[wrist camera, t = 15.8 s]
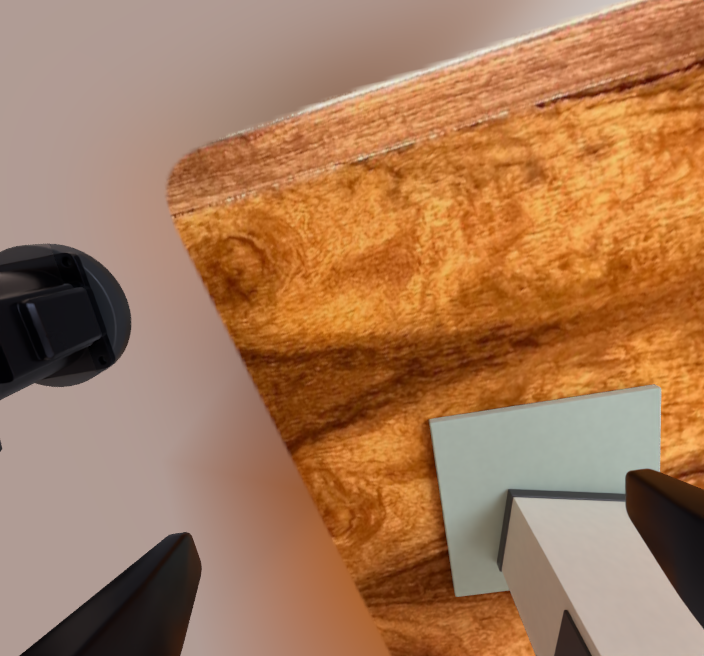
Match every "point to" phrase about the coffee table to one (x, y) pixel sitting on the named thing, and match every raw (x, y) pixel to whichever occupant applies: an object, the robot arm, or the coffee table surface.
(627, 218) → the coffee table surface
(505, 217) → the coffee table surface
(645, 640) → the white tilted block
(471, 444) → the mat
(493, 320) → the coffee table surface
